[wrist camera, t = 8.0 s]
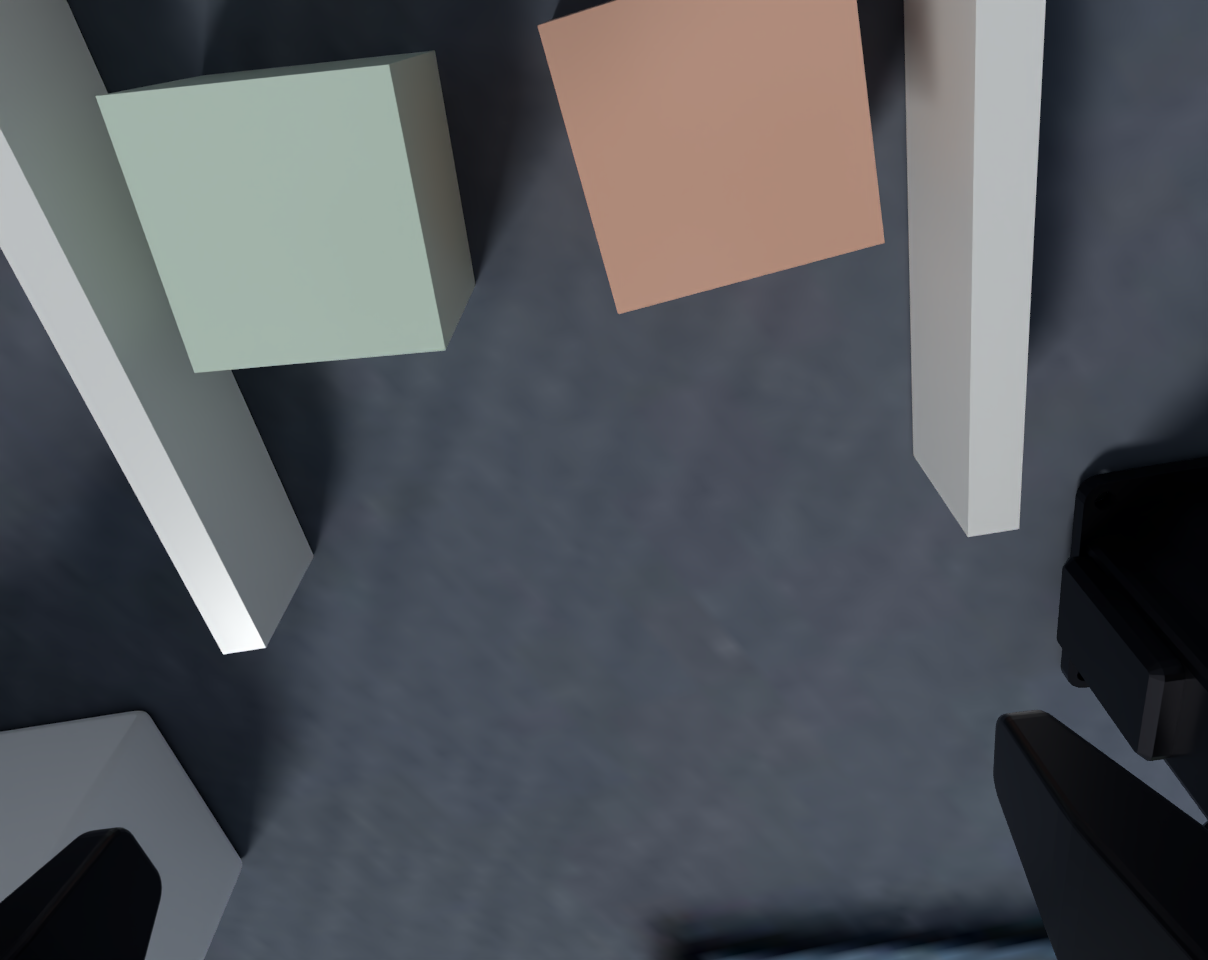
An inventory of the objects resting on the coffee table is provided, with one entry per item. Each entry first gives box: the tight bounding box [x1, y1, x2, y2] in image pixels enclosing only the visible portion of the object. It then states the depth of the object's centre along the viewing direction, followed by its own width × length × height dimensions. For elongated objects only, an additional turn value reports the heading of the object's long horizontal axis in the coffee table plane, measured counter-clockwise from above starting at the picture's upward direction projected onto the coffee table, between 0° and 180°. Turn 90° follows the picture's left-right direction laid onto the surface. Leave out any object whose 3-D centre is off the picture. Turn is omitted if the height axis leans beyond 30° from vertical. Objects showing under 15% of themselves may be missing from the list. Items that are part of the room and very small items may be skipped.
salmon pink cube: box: [538, 0, 885, 314], centre depth 15 cm, size 4×4×4 cm
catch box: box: [0, 0, 1046, 655], centre depth 15 cm, size 17×16×4 cm
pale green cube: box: [96, 50, 475, 373], centre depth 16 cm, size 4×4×4 cm
